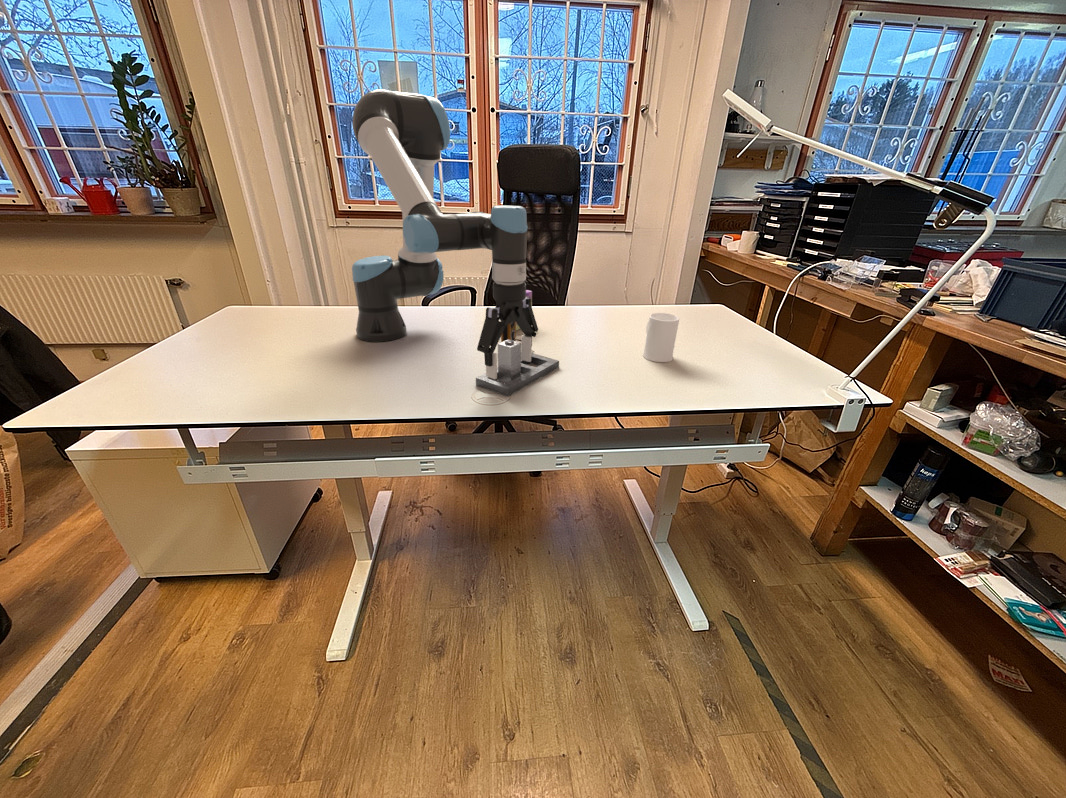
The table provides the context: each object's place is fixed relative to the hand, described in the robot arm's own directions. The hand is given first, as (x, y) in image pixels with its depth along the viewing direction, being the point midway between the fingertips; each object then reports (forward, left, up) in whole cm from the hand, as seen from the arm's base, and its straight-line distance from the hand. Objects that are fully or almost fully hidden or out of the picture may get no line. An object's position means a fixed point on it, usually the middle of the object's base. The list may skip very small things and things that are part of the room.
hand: (509, 368), depth 104 cm
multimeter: (-12, +20, -4) cm, 24 cm away
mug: (+22, +41, -4) cm, 47 cm away
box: (-26, +36, -4) cm, 45 cm away
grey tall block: (0, 0, -3) cm, 3 cm away
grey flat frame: (0, +4, -3) cm, 5 cm away
